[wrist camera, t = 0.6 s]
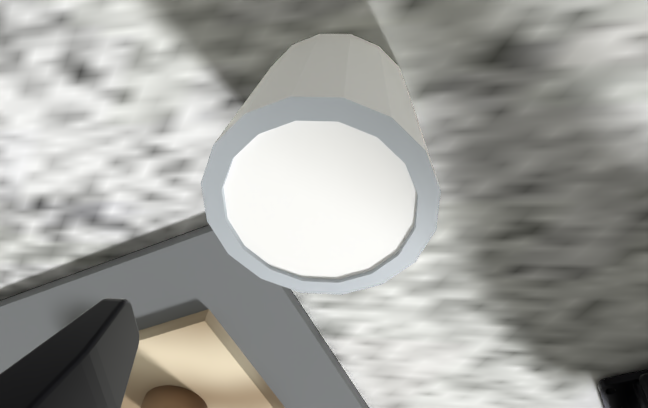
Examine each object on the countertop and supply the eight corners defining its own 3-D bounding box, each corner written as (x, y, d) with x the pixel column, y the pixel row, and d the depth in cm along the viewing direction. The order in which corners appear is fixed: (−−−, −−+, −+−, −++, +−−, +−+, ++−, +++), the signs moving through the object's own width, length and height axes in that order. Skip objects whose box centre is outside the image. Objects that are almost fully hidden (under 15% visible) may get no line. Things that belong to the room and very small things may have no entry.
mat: (393, 446, 34) (394, 455, 34) (146, 495, 40) (143, 504, 39) (240, 213, 26) (237, 221, 25) (-49, 318, 31) (-55, 326, 31)
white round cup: (357, 208, 25) (350, 328, 19) (216, 124, 23) (161, 229, 17) (464, 84, 21) (494, 186, 16) (307, -26, 20) (276, 44, 14)
